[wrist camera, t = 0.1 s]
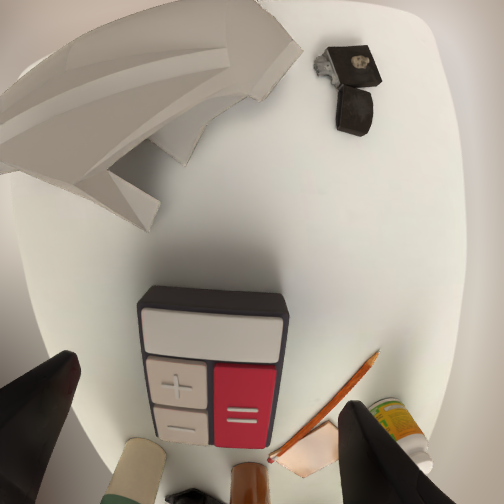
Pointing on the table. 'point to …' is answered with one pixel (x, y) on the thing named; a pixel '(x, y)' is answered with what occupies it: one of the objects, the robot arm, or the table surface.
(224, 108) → the origami crane
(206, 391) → the calculator
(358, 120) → the lighter
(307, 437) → the cork pad
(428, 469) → the supplement bottle
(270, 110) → the table surface
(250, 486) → the amber bottle
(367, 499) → the robot arm
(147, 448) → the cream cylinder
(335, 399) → the pencil
